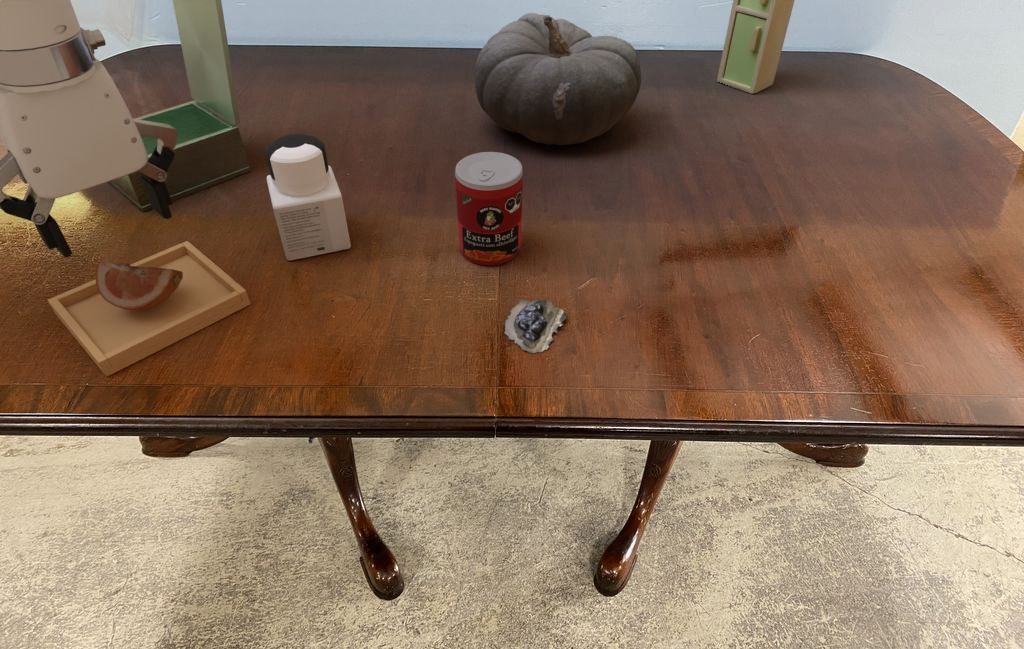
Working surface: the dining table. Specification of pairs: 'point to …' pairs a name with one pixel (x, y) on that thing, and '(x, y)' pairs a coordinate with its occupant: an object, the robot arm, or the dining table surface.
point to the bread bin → (191, 153)
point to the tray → (150, 310)
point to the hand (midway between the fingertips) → (114, 231)
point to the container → (305, 197)
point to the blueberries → (533, 324)
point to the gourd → (556, 80)
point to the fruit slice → (135, 285)
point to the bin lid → (207, 55)
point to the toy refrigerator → (754, 43)
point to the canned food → (489, 207)
